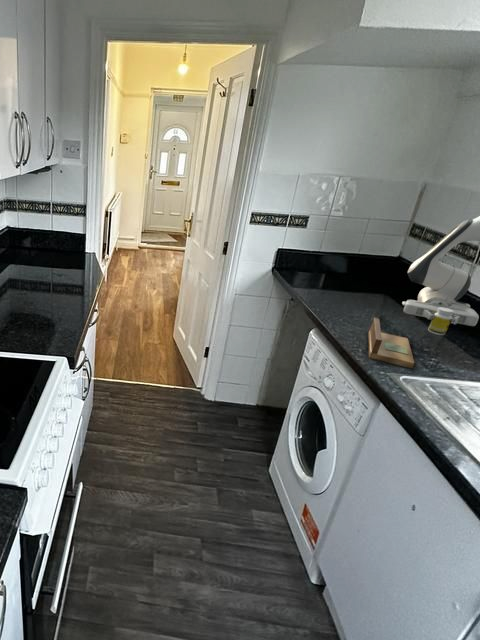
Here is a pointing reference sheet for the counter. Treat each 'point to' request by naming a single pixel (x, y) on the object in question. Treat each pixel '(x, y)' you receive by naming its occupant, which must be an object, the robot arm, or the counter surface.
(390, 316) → the counter surface
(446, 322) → the supplement bottle
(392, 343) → the oak shelf
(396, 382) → the counter surface
